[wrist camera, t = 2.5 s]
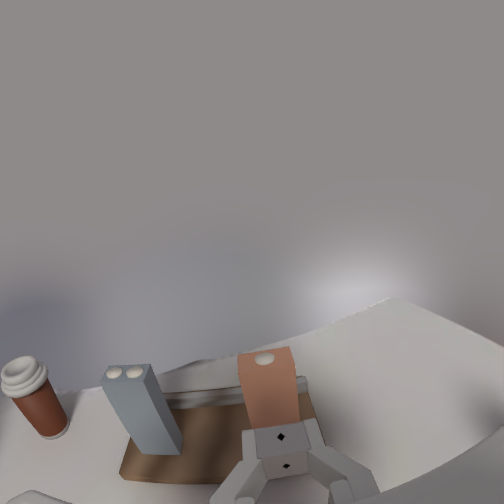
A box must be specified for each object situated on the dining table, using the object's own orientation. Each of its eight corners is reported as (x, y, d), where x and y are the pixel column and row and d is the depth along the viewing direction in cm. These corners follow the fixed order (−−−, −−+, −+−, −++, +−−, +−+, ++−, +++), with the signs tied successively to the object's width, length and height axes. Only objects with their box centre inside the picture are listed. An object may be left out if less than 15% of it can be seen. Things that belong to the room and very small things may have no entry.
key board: (124, 479, 23) (111, 464, 22) (148, 400, 39) (141, 384, 38) (330, 466, 24) (331, 450, 23) (302, 383, 39) (301, 365, 38)
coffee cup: (77, 406, 36) (46, 347, 34) (75, 442, 28) (34, 379, 25) (37, 412, 33) (5, 356, 30) (29, 447, 25) (-13, 386, 22)
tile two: (142, 453, 26) (98, 380, 23) (146, 437, 29) (108, 364, 26) (180, 455, 26) (142, 380, 23) (183, 437, 29) (149, 362, 26)
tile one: (257, 449, 27) (237, 371, 24) (255, 431, 30) (237, 353, 26) (301, 442, 27) (294, 362, 24) (297, 424, 30) (288, 344, 27)
